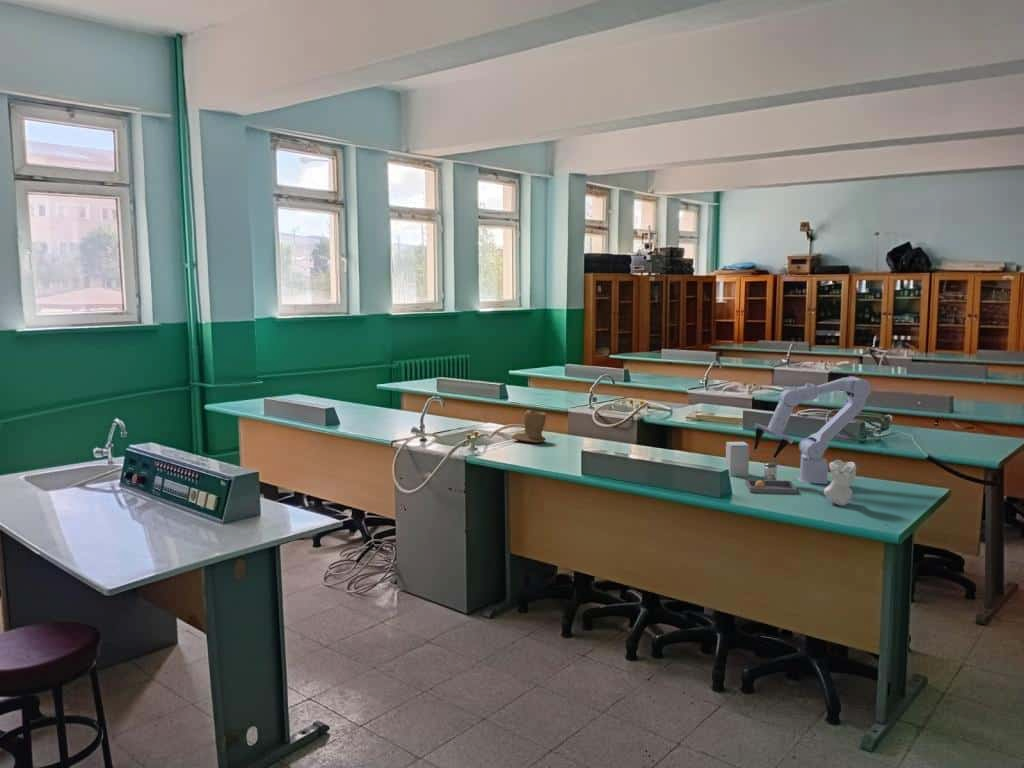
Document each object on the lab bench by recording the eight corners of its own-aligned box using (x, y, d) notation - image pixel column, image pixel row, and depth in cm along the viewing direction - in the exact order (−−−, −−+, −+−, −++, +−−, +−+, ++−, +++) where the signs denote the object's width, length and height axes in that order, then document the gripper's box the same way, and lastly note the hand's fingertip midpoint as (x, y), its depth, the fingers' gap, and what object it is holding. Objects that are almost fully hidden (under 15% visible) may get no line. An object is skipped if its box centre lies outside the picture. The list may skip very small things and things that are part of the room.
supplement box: (748, 477, 305) (749, 445, 303) (729, 477, 305) (730, 445, 303) (743, 472, 312) (744, 441, 311) (724, 472, 312) (725, 441, 311)
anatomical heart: (847, 500, 272) (849, 457, 270) (862, 509, 261) (864, 465, 259) (819, 500, 272) (821, 458, 270) (833, 510, 260) (835, 466, 259)
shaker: (775, 480, 299) (776, 462, 298) (777, 483, 295) (778, 465, 294) (762, 480, 300) (763, 462, 299) (765, 483, 295) (765, 465, 294)
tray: (790, 486, 290) (790, 480, 290) (796, 495, 279) (797, 489, 278) (745, 485, 293) (745, 479, 293) (750, 494, 281) (750, 488, 281)
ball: (764, 488, 286) (764, 479, 285) (765, 491, 282) (766, 482, 282) (754, 488, 286) (754, 479, 286) (755, 491, 283) (755, 481, 282)
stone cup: (551, 441, 377) (551, 410, 375) (536, 445, 367) (536, 413, 365) (525, 437, 386) (525, 407, 384) (511, 441, 376) (510, 410, 374)
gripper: (759, 412, 294) (744, 445, 296) (797, 427, 288) (781, 461, 290) (762, 412, 301) (748, 445, 302) (799, 428, 294) (784, 461, 296)
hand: (764, 453), depth 297 cm, fingers open, 7 cm apart
